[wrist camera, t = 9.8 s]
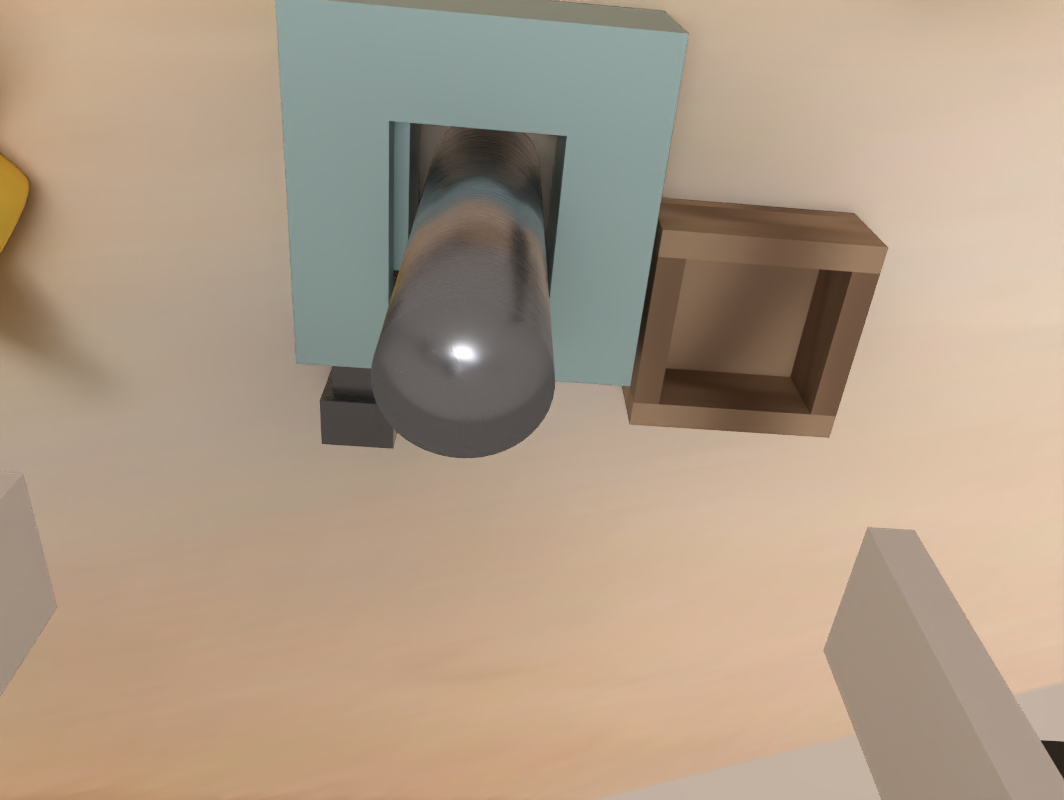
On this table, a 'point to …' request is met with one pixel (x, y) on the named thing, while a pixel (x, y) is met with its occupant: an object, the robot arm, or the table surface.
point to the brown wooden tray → (751, 317)
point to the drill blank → (471, 303)
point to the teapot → (11, 198)
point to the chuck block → (485, 103)
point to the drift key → (353, 410)
